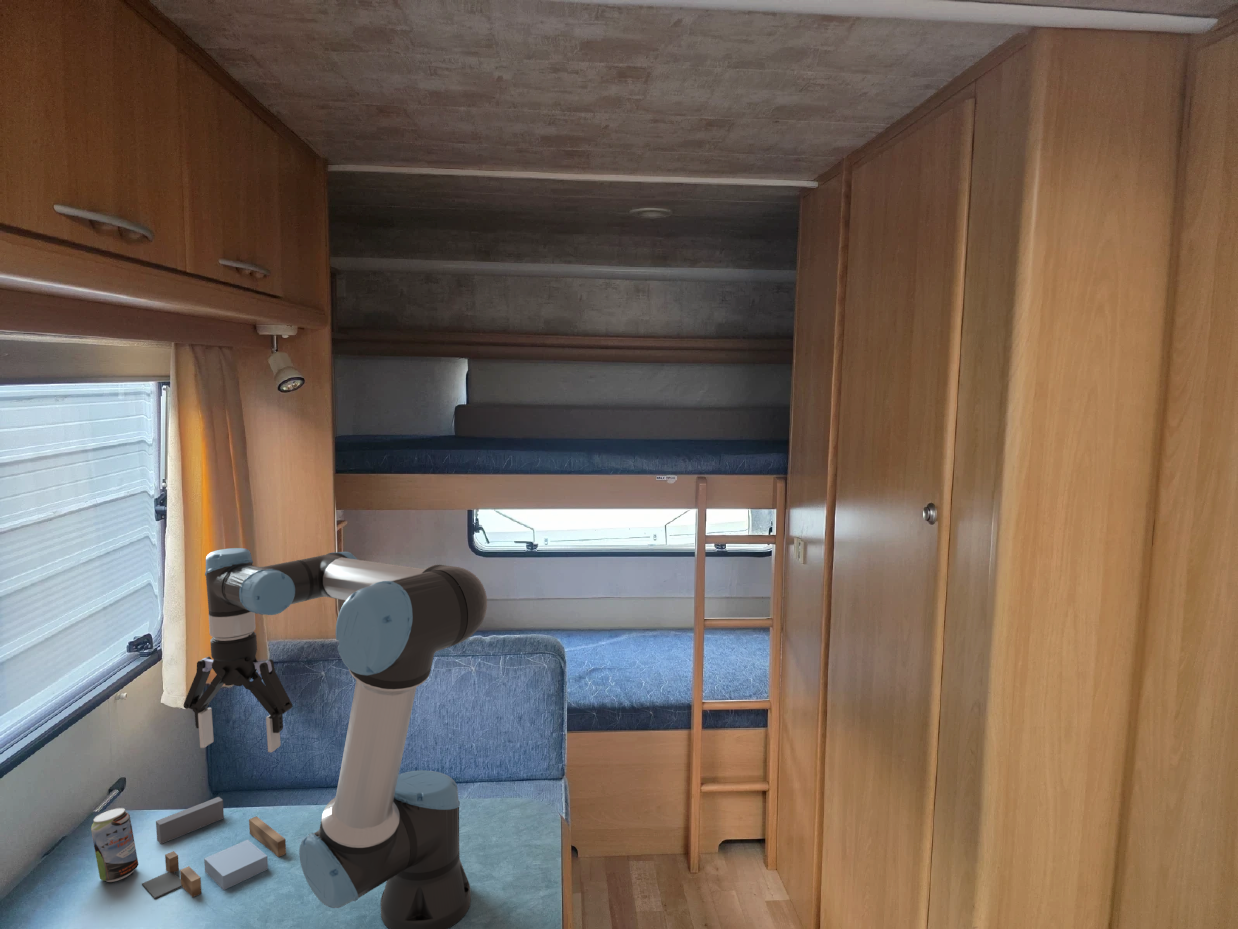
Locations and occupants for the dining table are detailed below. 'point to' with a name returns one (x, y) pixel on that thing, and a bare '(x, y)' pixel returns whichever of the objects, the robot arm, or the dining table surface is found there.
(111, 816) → the beverage can
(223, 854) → the block
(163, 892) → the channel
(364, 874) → the robot arm
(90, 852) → the dining table surface
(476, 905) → the dining table surface
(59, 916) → the dining table surface
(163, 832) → the end block
